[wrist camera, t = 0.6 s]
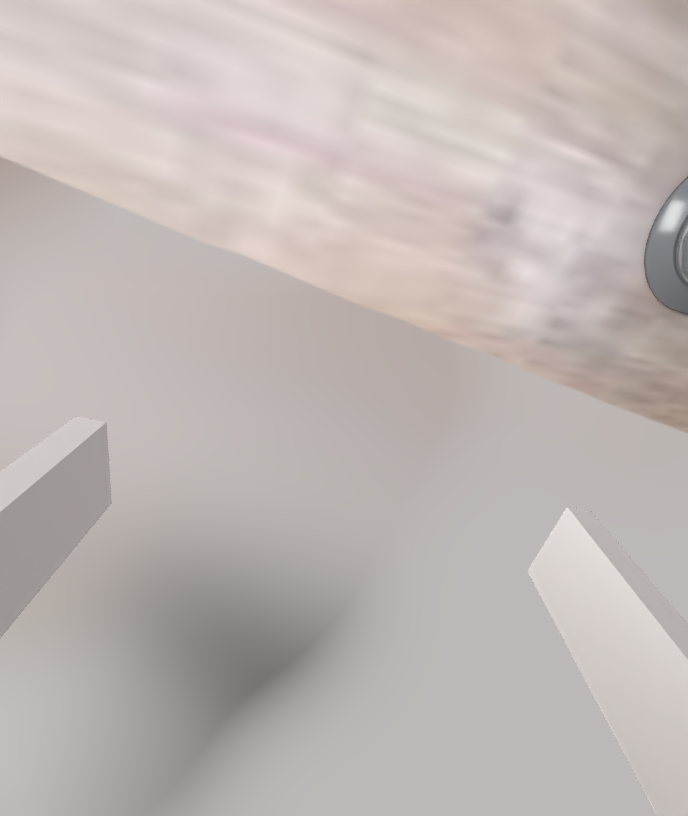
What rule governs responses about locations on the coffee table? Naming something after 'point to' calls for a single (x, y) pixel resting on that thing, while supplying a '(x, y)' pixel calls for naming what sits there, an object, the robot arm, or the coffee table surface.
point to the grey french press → (681, 253)
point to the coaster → (667, 251)
